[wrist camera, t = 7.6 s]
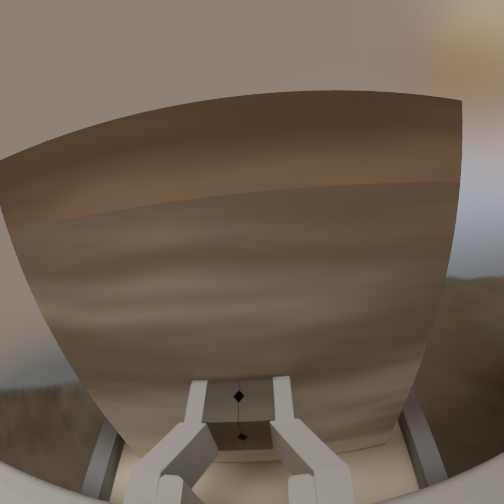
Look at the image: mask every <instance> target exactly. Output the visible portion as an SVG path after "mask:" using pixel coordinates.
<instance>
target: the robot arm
mask: <svg viewBox="0 0 504 504" xmlns="http://www.w3.org/2000/svg"><path fill="white" fill-rule="evenodd" d="M268 449H273V450H274V452H275V453H276V454H277V456H278V457H279V458H280V460H281V461H282V462H283V463H284V465H285V466H286V467H287V469H288V470H289V471H290V472H291V474H292V476H291V477H290V478H289V479H288V495H289V504H355V498H354V492H353V487H352V481H351V476H350V471H349V466H348V465H347V464H345V463H344V462H343V461H342V460H341V459H340V458H339V457H338V456H337V455H336V454H335V453H334V452H333V451H332V450H331V449H330V448H329V447H328V446H327V445H326V444H325V443H324V442H323V441H321V440H320V439H319V438H318V437H317V436H316V435H315V434H314V433H313V432H312V431H311V430H310V429H309V428H308V427H307V426H306V425H305V424H304V422H303V421H302V420H301V419H295V417H294V408H293V399H292V390H291V381H290V376H280V377H266V378H254V379H241V380H201V381H196V380H193V381H192V383H191V385H190V391H189V396H188V401H187V407H186V412H185V417H184V423H183V422H179V423H178V424H177V425H176V426H175V427H174V428H173V429H172V430H171V431H170V432H169V433H168V434H167V435H166V436H165V437H164V438H163V439H162V440H161V441H160V442H159V443H158V444H157V445H156V446H154V447H153V448H152V449H151V450H150V451H149V452H148V453H147V454H146V455H145V456H144V457H143V458H142V459H141V460H140V461H139V462H138V463H136V464H135V465H134V466H133V467H132V468H131V471H130V475H129V479H128V483H127V487H126V491H125V496H124V500H123V504H204V503H203V502H202V501H201V500H200V498H199V497H198V496H197V495H196V494H195V493H194V492H193V491H192V488H193V487H194V485H195V484H196V483H197V481H198V480H199V479H200V478H201V476H202V475H203V474H204V472H205V471H206V470H207V468H208V467H209V466H210V465H211V463H212V462H213V461H214V459H215V458H216V457H217V455H218V454H219V451H236V450H268ZM0 504H115V503H111V502H107V501H103V500H100V499H96V498H92V497H89V496H86V495H82V494H79V493H76V492H73V491H70V490H67V489H64V488H62V487H59V486H56V485H53V484H51V483H48V482H46V481H43V480H41V479H38V478H36V477H33V476H31V475H29V474H27V473H24V472H22V471H20V470H18V469H16V468H14V467H12V466H10V465H8V464H6V463H4V462H2V461H0ZM371 504H504V452H503V453H501V454H499V455H497V456H495V457H494V458H492V459H490V460H488V461H486V462H484V463H482V464H480V465H478V466H476V467H474V468H472V469H469V470H467V471H465V472H463V473H461V474H458V475H456V476H454V477H451V478H449V479H446V480H444V481H441V482H439V483H436V484H433V485H431V486H428V487H425V488H422V489H420V490H417V491H414V492H410V493H407V494H404V495H401V496H397V497H394V498H390V499H387V500H383V501H379V502H375V503H371Z"/></svg>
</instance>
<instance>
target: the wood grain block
mask: <svg viewBox="0 0 504 504" xmlns="http://www.w3.org/2000/svg"><path fill="white" fill-rule="evenodd" d="M461 160H462V101H460V100H454V99H448V98H441V97H433V96H425V95H416V94H405V93H393V92H376V91H338V90H337V91H336V90H335V91H334V90H332V91H295V92H278V93H265V94H254V95H245V96H235V97H227V98H219V99H213V100H206V101H199V102H193V103H188V104H182V105H177V106H171V107H166V108H162V109H157V110H152V111H148V112H143V113H139V114H135V115H131V116H127V117H123V118H119V119H115V120H112V121H108V122H105V123H101V124H97V125H94V126H91V127H88V128H84V129H81V130H78V131H75V132H72V133H69V134H66V135H63V136H60V137H57V138H54V139H52V140H49V141H46V142H43V143H41V144H38V145H36V146H33V147H31V148H28V149H26V150H23V151H21V152H18V153H16V154H14V155H11V156H9V157H7V158H5V159H2V160H0V206H1V210H2V213H3V217H4V220H5V223H6V226H7V229H8V232H9V235H10V238H11V241H12V244H13V247H14V249H15V252H16V255H17V257H18V260H19V262H20V265H21V268H22V270H23V273H24V275H25V277H26V280H27V282H28V284H29V287H30V289H31V291H32V293H33V296H34V298H35V300H36V302H37V304H38V306H39V308H40V310H41V312H42V314H43V316H44V318H45V320H46V322H47V324H48V326H49V328H50V330H51V332H52V334H53V335H54V337H55V339H56V341H57V343H58V345H59V346H60V348H61V349H62V352H63V353H64V355H65V357H66V358H67V360H68V362H69V363H70V365H71V367H72V368H73V370H74V371H75V373H76V375H77V376H78V378H79V379H80V381H81V382H82V384H83V385H84V387H85V388H86V390H87V391H88V393H89V394H90V396H91V397H92V399H93V400H94V401H95V403H96V404H97V406H98V407H99V408H100V410H101V411H102V412H103V414H104V415H105V416H106V418H107V419H108V420H109V422H110V423H111V424H112V426H113V427H114V428H115V429H116V431H117V432H118V433H119V434H120V436H121V437H122V438H123V439H124V441H125V442H126V443H127V444H128V445H129V447H130V448H131V449H132V450H133V451H134V452H135V453H136V455H137V456H141V457H144V456H145V455H146V454H147V453H148V452H149V451H150V450H151V449H152V448H153V447H154V446H156V445H157V444H158V443H159V442H160V441H161V440H162V439H163V438H164V437H165V436H166V435H167V434H168V433H169V432H170V431H171V430H172V429H173V428H174V427H175V426H176V425H177V424H178V423H179V422H183V423H184V417H185V412H186V407H187V401H188V396H189V391H190V385H191V383H192V381H193V380H196V381H201V380H241V379H254V378H266V377H280V376H290V381H291V390H292V399H293V408H294V417H295V419H301V420H302V421H303V422H304V424H305V425H306V426H307V427H308V428H309V429H310V430H311V431H312V432H313V433H314V434H315V435H316V436H317V437H318V438H319V439H320V440H321V441H323V442H324V443H325V444H326V445H327V446H328V447H329V448H330V449H331V450H332V451H333V452H334V453H335V454H337V453H343V452H348V451H353V450H359V449H363V448H368V447H373V446H377V445H381V444H386V442H387V440H388V438H389V436H390V434H391V432H392V430H393V428H394V426H395V424H396V422H397V420H398V417H399V415H400V413H401V411H402V409H403V406H404V404H405V402H406V399H407V397H408V395H409V392H410V390H411V387H412V385H413V382H414V380H415V377H416V374H417V372H418V369H419V366H420V364H421V361H422V358H423V355H424V352H425V349H426V346H427V343H428V340H429V337H430V334H431V330H432V327H433V324H434V320H435V317H436V313H437V310H438V306H439V302H440V298H441V294H442V290H443V286H444V282H445V277H446V273H447V268H448V263H449V258H450V253H451V247H452V242H453V236H454V229H455V223H456V214H457V207H458V198H459V188H460V176H461ZM278 460H280V458H279V457H278V456H277V454H276V453H275V452H274V450H273V449H268V450H236V451H219V454H218V455H217V457H216V458H215V459H214V461H213V462H262V461H278Z"/></svg>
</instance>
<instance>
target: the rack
mask: <svg viewBox="0 0 504 504" xmlns="http://www.w3.org/2000/svg"><path fill="white" fill-rule="evenodd" d="M336 455H337V456H338V457H339V458H340V459H341V460H342V461H343V462H344V463H345V464H347V465H348V466H349V471H350V476H351V481H352V487H353V492H354V498H355V504H371V503H375V502H379V501H383V500H387V499H390V498H394V497H397V496H401V495H404V494H407V493H410V492H414V491H417V490H420V489H422V488H425V487H428V486H431V485H433V484H436V483H439V482H441V481H444V480H446V479H448V477H447V474H446V471H445V468H444V465H443V462H442V460H441V457H440V454H439V451H438V449H437V446H436V443H435V441H434V438H433V436H432V433H431V430H430V428H429V425H428V423H427V420H426V418H425V416H424V413H423V411H422V408H421V406H420V403H419V401H418V399H417V396H416V394H415V392H414V389H413V387H411V390H410V392H409V395H408V397H407V399H406V402H405V404H404V406H403V409H402V411H401V413H400V415H399V417H398V420H397V422H396V424H395V426H394V428H393V430H392V432H391V434H390V436H389V438H388V440H387V442H386V444H381V445H377V446H373V447H368V448H363V449H359V450H353V451H348V452H343V453H337V454H336ZM142 458H143V457H141V456H137V455H136V453H135V452H134V451H133V450H132V449H131V448H130V447H129V445H128V444H127V443H126V442H125V441H124V439H123V438H122V437H121V436H120V434H119V433H118V432H117V431H116V429H115V428H114V427H113V426H112V424H111V423H110V422H109V420H108V419H107V418H106V417H105V420H104V423H103V426H102V429H101V432H100V434H99V437H98V440H97V443H96V446H95V449H94V452H93V455H92V458H91V461H90V464H89V468H88V471H87V474H86V477H85V480H84V484H83V487H82V490H81V494H82V495H86V496H89V497H92V498H96V499H100V500H103V501H107V502H111V503H115V504H123V500H124V496H125V491H126V487H127V483H128V479H129V475H130V471H131V468H132V467H133V466H134V465H135V464H136V463H138V462H139V461H140V460H141V459H142ZM291 476H292V474H291V472H290V471H289V470H288V469H287V467H286V466H285V465H284V463H283V462H282V461H281V460H278V461H262V462H212V463H211V465H210V466H209V467H208V468H207V470H206V471H205V472H204V474H203V475H202V476H201V478H200V479H199V480H198V481H197V483H196V484H195V485H194V487H193V488H192V491H193V492H194V493H195V494H196V495H197V496H198V497H199V498H200V500H201V501H202V502H203V503H204V504H289V495H288V479H289V478H290V477H291Z"/></svg>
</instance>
